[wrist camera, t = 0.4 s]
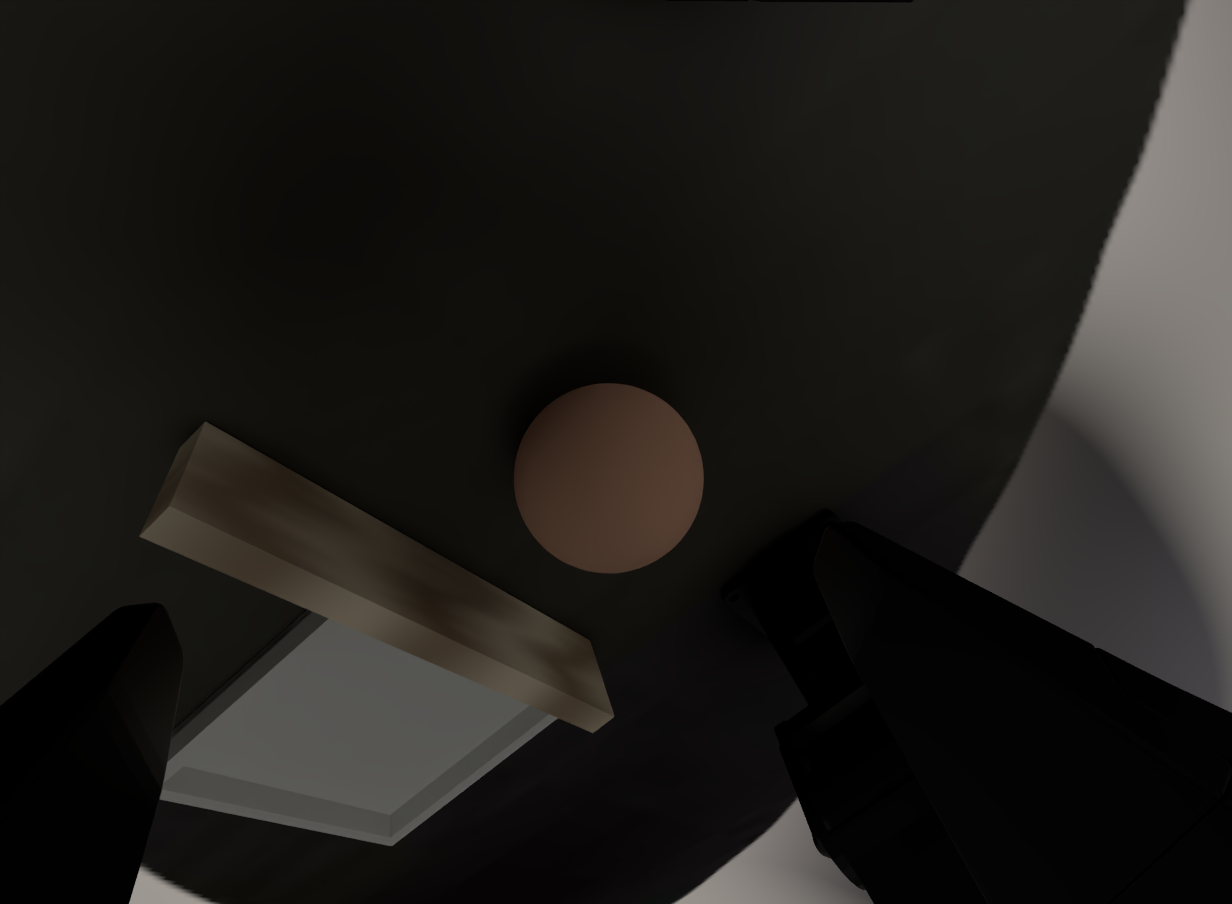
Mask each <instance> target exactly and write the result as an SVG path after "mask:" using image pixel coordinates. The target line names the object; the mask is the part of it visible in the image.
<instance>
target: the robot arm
mask: <svg viewBox="0 0 1232 904" xmlns="http://www.w3.org/2000/svg"><path fill="white" fill-rule="evenodd" d="M721 597H722V599H723V601H724V602H725V604H726V605H727V606H728V607H730V608H731V609H732V610H734V611H735V612H736V613H737V614H739V615H740V616H741V617H743V618H744V619H745V620H746V621H748V622H749V623H750V624H751V625H753V626H754V627H755V628H757V629H758V630H759V631H760V632H762V633H763V634H764V635H765V636H767V637H768V638H769V640H770V641H771V643H772V645H773V646H774V648H775V650H776V651H777V653H778V654H779V656H780V658H781V659H782V661H783V663H784V664H785V666H786V668H787V669H788V671H789V673H790V674H791V676H792V678H793V679H794V681H795V683H796V684H797V686H798V688H799V689H800V691H801V693H802V694H803V696H804V698H805V699H806V701H807V703H808V704H809V705H808V706H807V707H806V708H804V709H803V710H802V711H800V712H799V713H798V714H796V715H795V716H793V717H792V718H791V719H789V720H788V721H787V722H786V721H783V722H781V723H780V724H779V725H777V726H776V727H774V730H775V733H776V736H777V738H778V741H779V743H780V747H779V748H780V751H781V754H782V757H783V759H784V762H785V765H786V767H787V770H788V772H789V775H790V778H791V780H792V783H793V786H794V788H795V791H796V794H797V796H798V799H799V802H800V804H801V807H802V809H803V812H804V815H805V817H806V820H807V823H808V825H809V828H810V830H811V833H812V837H813V841H814V844H815V846H816V848H817V849H818V851H819V852H820V853H821V854H822V855H823V856H826V857H828V858H831V859H832V860H833V861H834V863H835V864H836V865H837V866H838V868H839V869H840V870H841V871H842V873H843V874H844V875H845V876H846V877H847V878H848V879H849V880H850V881H851V882H852V883H853V884H855V885H856V886H857V887H858V888H860V889H862V890H866V891H867V892H868V894H869V896H870V898H871V899H872V901H873V903H874V904H1232V713H1231V712H1228V711H1227V710H1224V709H1222V708H1220V707H1218V706H1216V705H1214V704H1212V703H1210V702H1207V701H1205V700H1203V699H1201V698H1199V697H1197V696H1194V695H1193V694H1190V693H1188V692H1186V691H1184V690H1182V689H1180V688H1178V687H1176V686H1173V685H1171V684H1169V683H1167V682H1165V681H1163V680H1161V679H1159V678H1157V677H1155V676H1153V675H1151V674H1149V673H1147V672H1145V671H1143V670H1141V669H1139V668H1137V667H1135V666H1133V665H1131V664H1129V663H1127V662H1125V661H1124V660H1122V659H1120V658H1118V657H1116V656H1114V655H1112V654H1110V653H1108V652H1106V651H1104V650H1102V649H1100V648H1095V647H1094V646H1093V645H1092V644H1091V643H1089V642H1086V641H1085V640H1083V639H1081V638H1079V637H1077V636H1075V635H1073V634H1071V633H1069V632H1067V631H1065V630H1063V629H1061V628H1060V627H1058V626H1056V625H1054V624H1052V623H1050V622H1048V621H1046V620H1044V619H1042V618H1040V617H1038V616H1036V615H1034V614H1032V613H1030V612H1028V611H1027V610H1025V609H1023V608H1021V607H1019V606H1017V605H1015V604H1013V603H1011V602H1009V601H1007V600H1005V599H1003V598H1001V597H999V596H997V595H996V594H994V593H992V592H990V591H988V590H986V589H984V588H982V587H980V586H978V585H976V584H974V583H972V582H970V581H968V580H966V579H965V578H963V577H961V576H959V575H957V574H955V573H953V572H951V571H949V570H947V569H945V568H943V567H941V566H939V565H937V564H935V563H934V562H932V561H930V560H928V559H926V558H924V557H922V556H920V555H918V554H916V553H914V552H912V551H910V550H908V549H906V548H905V547H903V546H901V545H899V544H897V543H895V542H893V541H891V540H889V539H887V538H885V537H883V536H881V535H879V534H877V533H875V532H874V531H872V530H870V529H868V528H866V527H864V526H862V525H860V524H858V523H856V522H841V521H840V520H839V518H838V517H837V516H836V515H835V514H834V513H833V512H832V511H826V512H823V513H822V514H820V515H819V516H817V517H816V518H815V519H813V520H812V521H811V522H810V523H808V524H807V525H806V526H804V527H803V528H802V529H800V530H799V531H798V532H797V533H795V534H794V535H793V536H791V537H790V538H789V539H788V540H786V541H785V542H784V543H782V544H781V545H780V546H778V547H777V548H776V549H775V550H773V551H772V552H771V553H769V554H768V555H767V556H766V557H764V558H763V559H762V560H760V561H759V562H758V563H756V564H755V565H754V566H753V567H751V568H750V569H749V570H747V571H746V572H745V573H743V574H742V575H741V576H740V577H738V578H737V579H736V580H734V581H733V582H732V583H731V584H729V585H728V586H727V587H725V588H724V589H723V590H722V592H721ZM183 668H184V654H183V649H182V646H181V643H180V641H179V638H178V636H177V633H176V631H175V629H174V626H173V624H172V621H171V619H170V616H169V614H168V611H167V610H166V608H165V607H164V606H163V605H162V604H160V603H145V604H137V605H128V606H123V607H120V608H118V609H117V610H115V611H114V612H112V613H111V614H110V615H109V616H107V617H106V618H105V619H104V620H103V621H101V622H100V623H99V624H98V625H97V626H95V627H94V628H93V629H92V630H91V631H89V632H88V633H87V634H86V635H85V636H84V637H82V638H81V639H80V640H79V641H78V642H76V643H75V644H74V645H73V646H72V647H70V648H69V649H68V650H67V651H66V652H64V653H63V654H62V655H61V656H60V657H58V658H57V659H56V660H55V661H54V662H52V663H51V664H50V665H49V666H48V667H46V668H45V669H44V670H43V671H42V672H40V673H39V674H38V675H37V676H36V677H34V678H33V679H32V680H31V681H30V682H28V683H27V684H26V685H25V686H24V687H22V688H21V689H20V690H19V691H18V692H16V693H15V694H14V695H13V696H12V697H10V698H9V699H8V700H7V701H6V702H4V703H3V704H2V705H1V706H0V904H129V901H130V898H131V895H132V891H133V888H134V885H135V881H136V878H137V875H138V871H139V868H140V865H141V861H142V858H143V855H144V851H145V848H146V845H147V841H148V838H149V835H150V831H151V828H152V825H153V821H154V818H155V815H156V811H157V807H158V804H159V800H160V796H161V792H162V788H163V783H164V778H165V772H166V767H167V761H168V755H169V750H170V744H171V738H172V732H173V726H174V720H175V715H176V709H177V703H178V697H179V691H180V686H181V680H182V674H183Z"/></svg>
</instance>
